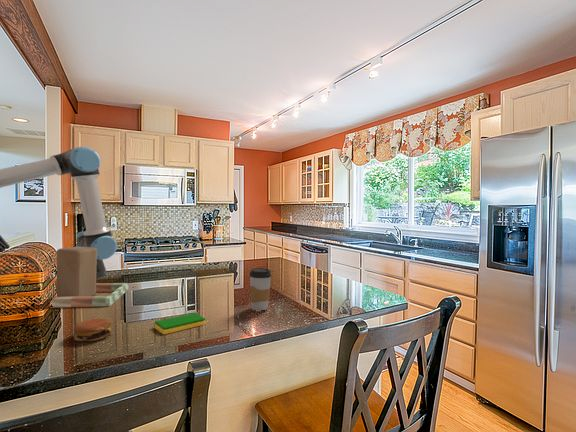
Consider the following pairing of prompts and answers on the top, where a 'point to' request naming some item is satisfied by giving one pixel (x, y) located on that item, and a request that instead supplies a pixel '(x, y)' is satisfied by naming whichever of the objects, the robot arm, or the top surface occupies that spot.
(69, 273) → the block
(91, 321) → the burger
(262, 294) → the coffee cup
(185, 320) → the dish sponge
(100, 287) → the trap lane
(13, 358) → the top surface
